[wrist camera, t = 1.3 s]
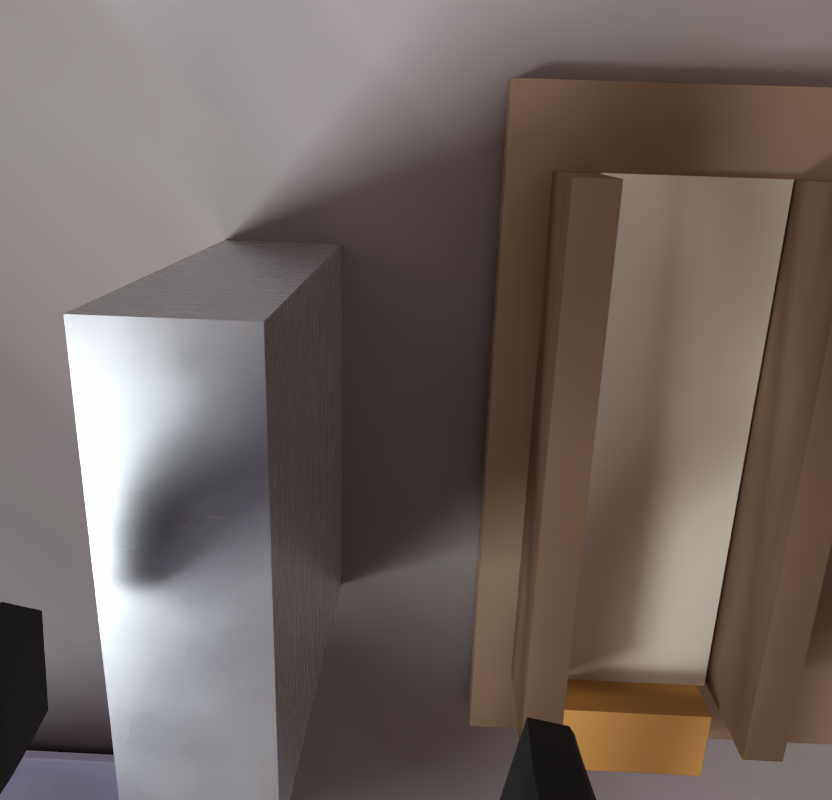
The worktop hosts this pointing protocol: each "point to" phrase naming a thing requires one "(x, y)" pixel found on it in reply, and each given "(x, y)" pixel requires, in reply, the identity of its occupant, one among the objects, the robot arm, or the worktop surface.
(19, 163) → the worktop surface
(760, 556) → the slot rack
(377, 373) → the worktop surface
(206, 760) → the grey brushed metal block
